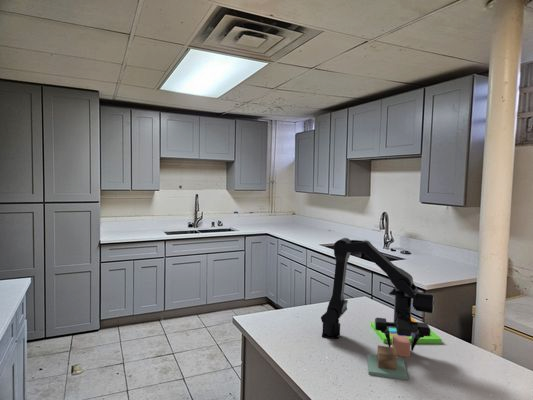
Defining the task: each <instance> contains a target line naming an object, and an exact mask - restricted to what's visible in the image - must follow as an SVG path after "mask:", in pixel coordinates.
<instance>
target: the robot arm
mask: <svg viewBox="0 0 533 400" xmlns="http://www.w3.org/2000/svg"><path fill="white" fill-rule="evenodd" d="M361 252H362V253H363V254H364V255H366V256H367V257H368V258H369V259H370V261H372V262H373V263H374V264H375V265H376V266H377V267H379V269H380V270H381V271H383V272H384V273H385V274H386V275H387V278H389V280H390V282H391V284H392V285H393V286H394V288H392V289H391V290H390V291H389V293H388V294H389V295H390V296H394V302H393V303H394V307H393V322H394V323H393V322H391V321H387V318H386V317H385V318H383V317H375V318H374V322H375V329H376V330H379V331H381V332H382V333H384V334H385V336H386V338H387V342H388V343H387V345H388V346H387V347H392V343H390V332H389V328H396V330H397V334H398V335H404V336H411V334H412V341H411V343H410V352H413V351H414V349H415V347H416V344H418V343H417V341H418V339H419V338H423V337H424V336H430V333H431V331H430V329H431V328H430V326H429V324H428V323H427V322H423V323H421V321H416V322H413V321H411V317H412V308H413V309H414V310H415V311H417V312H422V313H427V314H434V308H435V301H434V300H435V299H434V297H435V296H434V293H432V292H429V293H427V292H421V291H419V289H418V288H417V286H416V284H415V283H414V278H413V276H412V274H410V273H409V272H407V271H405V270H404V269H403V268H401V267H398V266H396V265H395V264H394V263H393V262H391V260H390V259H388V258H387V257H386V256H385V255H384V254H382V252H380V250H379V249H377V248H376V247H375V246H374V245H373V244H372V243H371V241H370V240H367V239H364V240H360V239H359V240H357V239H350V238H348V237H343V238H340V239H338V240H337V241H335V242H334V244H333V254H334V260H335V268H334V269H335V270H334V277H333V285H332V293H331V294H332V296H331V298H330V299H329V302H328V306H327V308H326V311H325V312H324V313H323V314H322V315H321V316H320V319H321V322H322V333H321V337H322V338H328V339H337V340H338V339H339V337H340V335H341V323H340V318H341V317H342V316H343V315H344V314H345V313H346V311H347V310H348V307H347V306H348V303H349V301H348V299H345V296H344V294H345V293H344V292H345V285H346V277H347V276H346V275H347V266H348V261H349V259H350V256H351V254H352V253H361Z"/></svg>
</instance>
